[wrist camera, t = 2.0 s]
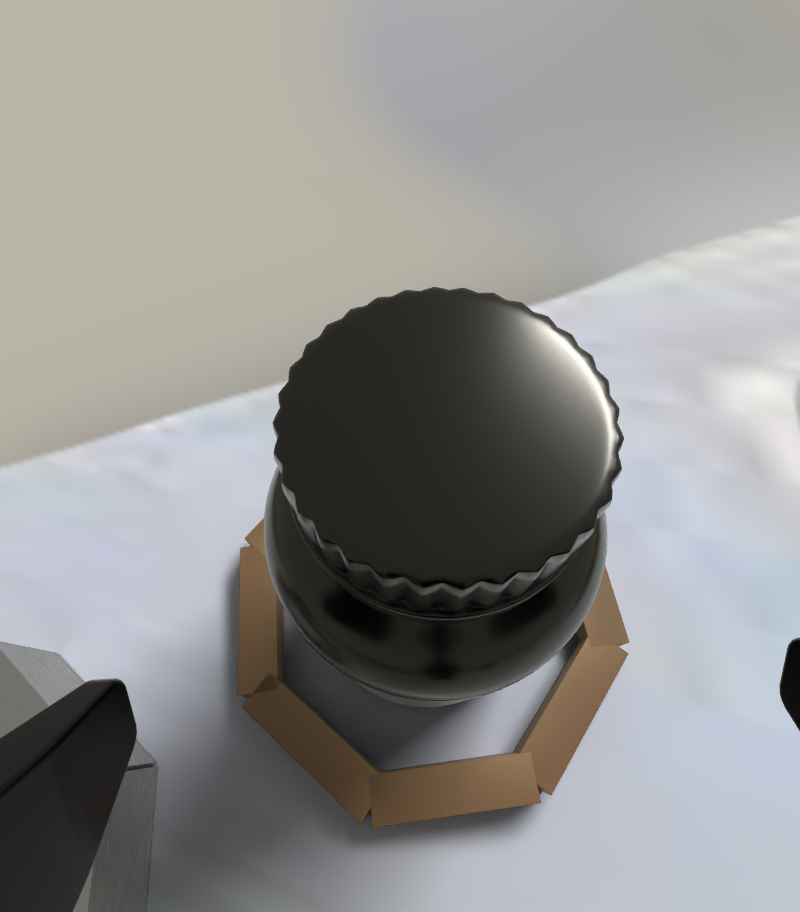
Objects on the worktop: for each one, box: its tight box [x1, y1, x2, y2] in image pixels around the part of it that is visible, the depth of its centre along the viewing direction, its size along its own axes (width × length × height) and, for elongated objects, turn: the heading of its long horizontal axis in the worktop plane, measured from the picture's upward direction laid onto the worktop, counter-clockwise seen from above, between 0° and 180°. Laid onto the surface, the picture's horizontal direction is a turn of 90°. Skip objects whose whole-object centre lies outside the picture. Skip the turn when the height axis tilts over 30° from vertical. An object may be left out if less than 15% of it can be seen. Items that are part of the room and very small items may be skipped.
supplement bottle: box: [264, 287, 624, 707], centre depth 12 cm, size 7×7×12 cm
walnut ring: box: [237, 518, 629, 828], centre depth 17 cm, size 12×12×1 cm
